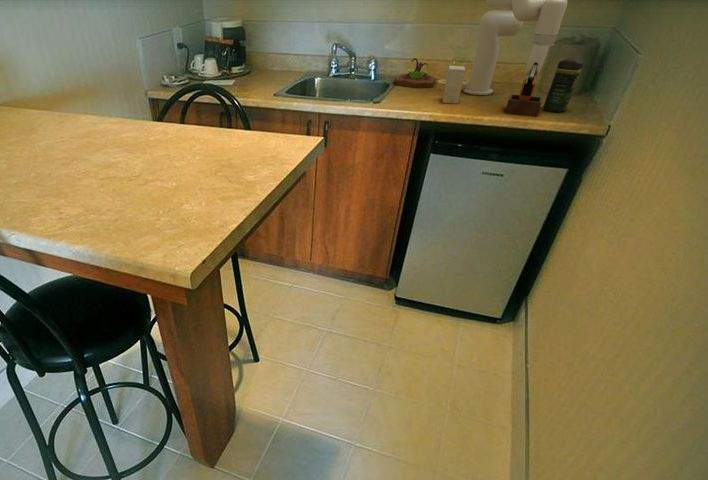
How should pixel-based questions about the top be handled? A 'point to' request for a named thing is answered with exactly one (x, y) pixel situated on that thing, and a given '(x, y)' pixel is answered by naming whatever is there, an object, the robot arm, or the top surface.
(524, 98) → the carrot
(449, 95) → the small box
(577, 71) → the coffee jar
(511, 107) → the pen box
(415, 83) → the plant
